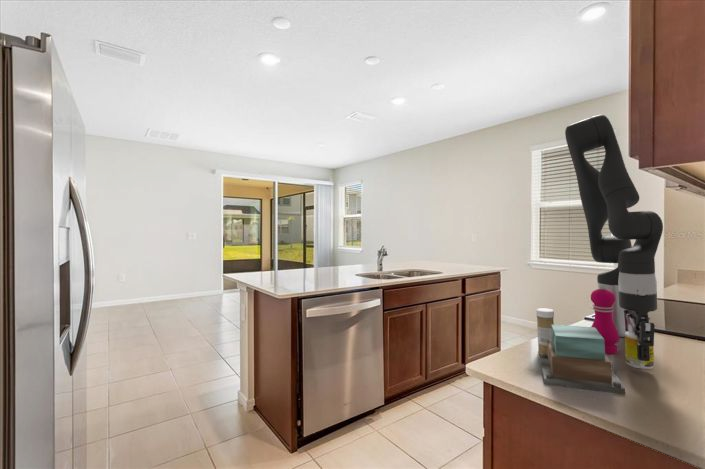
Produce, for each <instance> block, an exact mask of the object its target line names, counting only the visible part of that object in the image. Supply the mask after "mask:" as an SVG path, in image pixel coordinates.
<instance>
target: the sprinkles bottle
mask: <svg viewBox="0 0 705 469" xmlns="http://www.w3.org/2000/svg"><path fill="white" fill-rule="evenodd" d="M535 312H536V313H535V314H536V319H537V320H536V321H537V323H536V324H537V343H538V344H537V346H538V351H537V353H538V354H539V355H542V354H546V355H547V356H548V341H552V328H551V324H552V325H555V324H554V318H555V311H554V310H553V309H552V308H546V307H545V308H544V307H541V308H540V307H539V308H536V310H535Z"/></svg>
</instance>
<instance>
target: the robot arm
mask: <svg viewBox="0 0 705 469" xmlns="http://www.w3.org/2000/svg"><path fill="white" fill-rule="evenodd" d="M614 130H615V129H614V128H613V125H612V123H611V121H610V119H609V118H608V117H607V116H606V115H604V114H598V115H594V116H591V117H587V118H585V119H582V120H580V121H577V122H574V123H571V124H569V125H567V126H566V128H565V131H564V134H565V140H566V144H567V148H568V151H569V155H570V157H571V160H572V164H573V168H574V172H575V174H576V180H577V185H578V192H579V196H580V197H579V198H580V201H581V206H582V209H583V213H584V216H585V220H586V224H587V231H588V239H589V240H588V241H589V247H590V252H591V257H592V259H593V260H594V261H595V262H597V263H602V264H617V267H616V268H614V269H612V270H609V271H605V272H601V273H598V275H597V279H596V280H597V289H599V285H600V284H604V285H605V286H606V290H609V291H611V292H612V293H613V294H614V295H615V303H614V304H613V305H612V306H613V307H614V308H613V310H614V311H613V312H612V320H613V323H614V325H615V327H616V329H617V331H618V334H619V338H625V332H627V331H629V324H631V325H632V331H633V335H634V336H636V340H637V357H638V359H639V360H641V361H649V360H650V352H649V346H653V347H654V346H655V327H656V325H655V323H654V322H652V321H651V318H650V317H649V313H650V312H655V311H657V310H658V287H657V286H658V285H657V284H658V283H657V278H656V263H655V260H656V259H655V257H656V253H657V250H658V247H659V244H660V241H661V238H662V235H663V230H664V225H663V221H662V219H661V217H660V216H659V214H658V213H656V212H654V211H650V210H641V211H629V210H628V209H629V208H630V209H631V208H632V207H634V206H635V205H637V204H638V202H640V195H639V192H638V190H637V188H636V186H635V184H634V182H633V180H632V179H631V177H630V175H629V172H628V169H627V167H626V165H625V161H624V158H623V155H622V151H621V149H620V145H619V142H618V140H617V136H616V133H615V131H614ZM602 147H604V153H605V155H604V160H603V163H602V165H601V168H600V170H598V169H597V168H596V167H594V166H593V165H592V164H591V163H590V162H589V161H588V160H587V159H586V157H585V153H586V152H589V151H592V150H595V149H598V148H602ZM607 222H608V223H607ZM606 223H607V224H608V229H609V232H610V234H611V235H603V233H602V231H603V228H604V226H605V225H606ZM633 240H635V242H634V243H633V245H632V241H633ZM637 331H640V332H637ZM644 337H646V341H644Z"/></svg>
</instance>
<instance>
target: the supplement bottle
mask: <svg viewBox="0 0 705 469" xmlns="http://www.w3.org/2000/svg"><path fill="white" fill-rule="evenodd" d="M637 332H640V331H637ZM644 341H646V337H644ZM624 342H625V343H624V346H625V347H624V348H625V362H626V364H628V365H629V366H630V367H632V368H636V369H643V370H650V369H653V367H654V366H655V360H654V357H655V354H654V352H655V351H654V346H649V352H650V360H649V361H641V360H639V359H638V357H637V340H636V336H634V335H633V331H632V325H631V324H629V331H627V332H625V337H624Z"/></svg>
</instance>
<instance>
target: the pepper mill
mask: <svg viewBox="0 0 705 469" xmlns="http://www.w3.org/2000/svg"><path fill="white" fill-rule="evenodd" d="M590 300H591V302H592V303H593V305H592V310H593V311H594V320H593V321H592V324H591V326H590V327H595V328H596V329H597V331H598V332H599V333H600V334H601V336H602V337H603V338H604V341H605V354H606V355H615V354H617V353H618V346H617V343H618V342H619V341H620V337H619V334H618V331H617V329H616V327H615V325H614V323H613V320H612V312H613V311H614V310H613V308H614V307H613V306H612V305H613V304H614V303H615V295H614V294H613V293H612V292H611V291H609V290H606V286H605V285H604V284H600V285H599V289H598V288H597V289H595V290H593V291H592V292H591V294H590Z"/></svg>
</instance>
